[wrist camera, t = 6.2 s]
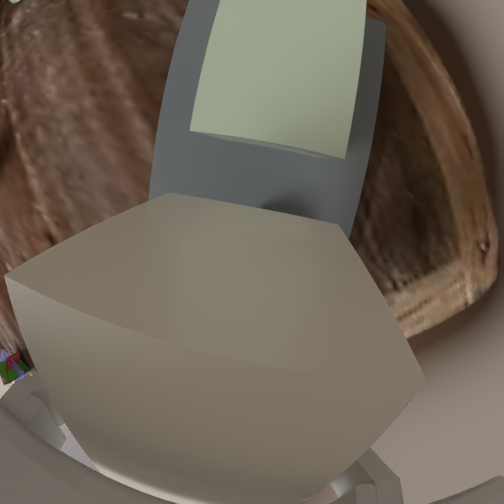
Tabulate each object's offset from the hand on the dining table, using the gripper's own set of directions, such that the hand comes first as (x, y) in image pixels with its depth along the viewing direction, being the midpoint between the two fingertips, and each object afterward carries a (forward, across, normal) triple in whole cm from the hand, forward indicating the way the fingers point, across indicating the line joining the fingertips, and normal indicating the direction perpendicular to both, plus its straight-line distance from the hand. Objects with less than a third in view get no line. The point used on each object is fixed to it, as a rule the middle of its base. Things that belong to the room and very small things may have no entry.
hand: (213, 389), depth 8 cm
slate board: (+12, +1, -6) cm, 14 cm away
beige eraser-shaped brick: (+3, 0, 0) cm, 3 cm away
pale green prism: (+12, 0, -13) cm, 17 cm away
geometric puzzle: (+12, +36, +28) cm, 47 cm away
